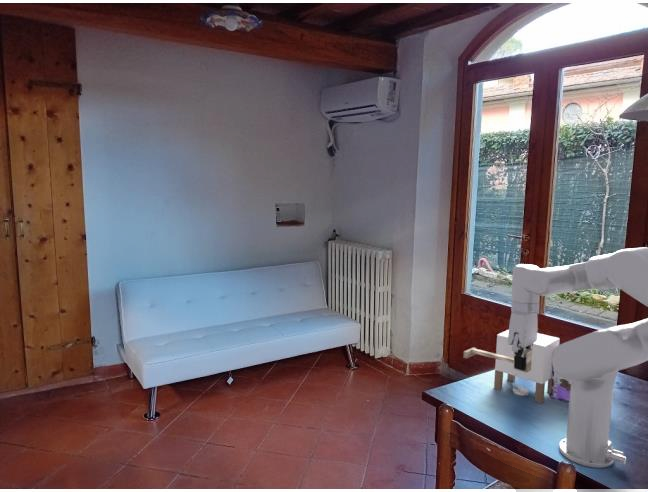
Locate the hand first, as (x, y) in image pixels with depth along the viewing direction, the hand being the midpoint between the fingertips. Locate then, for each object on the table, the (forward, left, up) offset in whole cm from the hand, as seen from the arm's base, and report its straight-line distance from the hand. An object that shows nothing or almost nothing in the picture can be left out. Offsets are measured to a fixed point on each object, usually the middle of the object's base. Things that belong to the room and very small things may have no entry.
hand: (522, 367), depth 143 cm
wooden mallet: (+8, 0, -1) cm, 8 cm away
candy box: (-7, -25, -17) cm, 31 cm away
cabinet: (+8, -21, -16) cm, 28 cm away
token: (+8, -18, -17) cm, 26 cm away
